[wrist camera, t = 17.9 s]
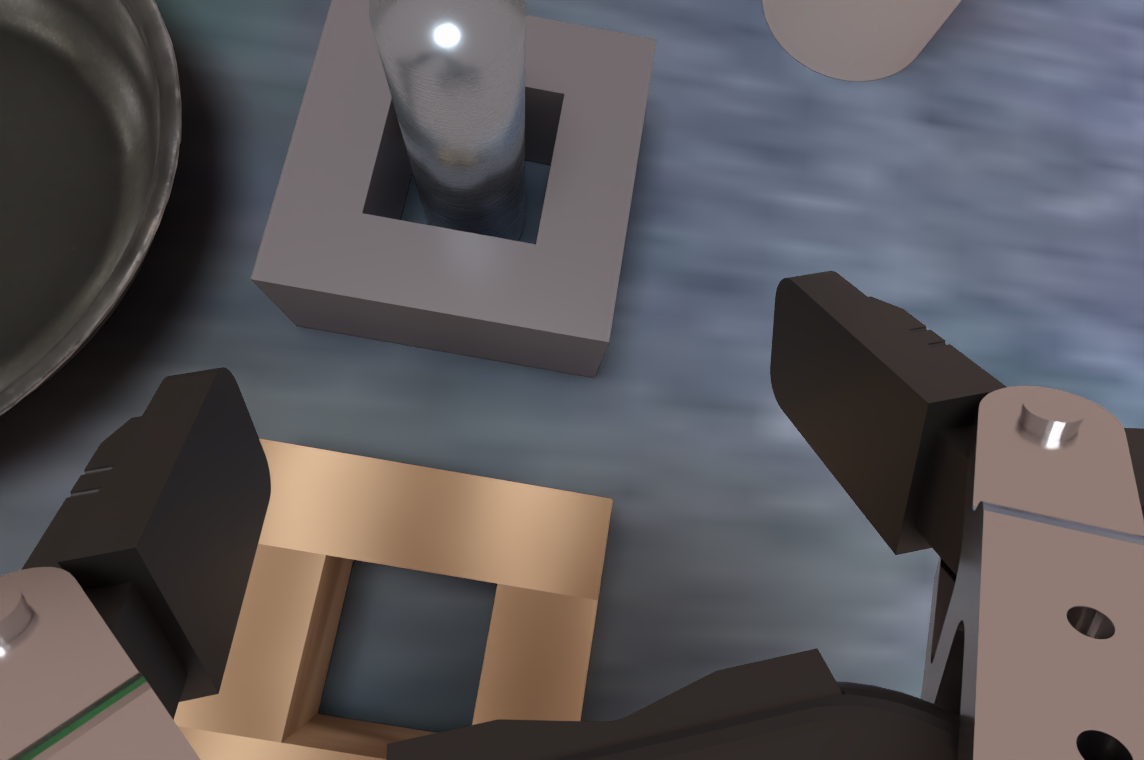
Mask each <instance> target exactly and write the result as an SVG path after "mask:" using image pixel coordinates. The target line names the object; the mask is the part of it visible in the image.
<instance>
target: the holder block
mask: <svg viewBox="0 0 1144 760" xmlns="http://www.w3.org/2000/svg"><path fill="white" fill-rule="evenodd" d="M656 40H657V39H651V38H646V37H641V36H636V35H630V34H625V33H620V32H614V31H609V30H604V29H598V28H593V27H588V26H582V25H577V24H572V23H566V22H561V21H556V20H550V19H545V18H540V17H534V16H529V15H526V47H525V160H528V161H534V162H539V163H545V164H550V165H551V168H550V173H549V178H548V183H547V189H546V194H545V199H544V205H543V210H542V215H541V220H540V226H539V231H538V236H537V242H536V244H531V243H525V242H520V241H514V240H508V239H503V238H497V237H492V236H486V235H481V234H475V233H469V232H464V231H458V230H453V229H447V228H442V227H436V226H430V225H425V224H419V223H414V222H408V221H403V220H401V216H402V212H403V208H404V204H405V200H406V195H407V191H408V187H409V183H410V179H411V175H412V167H411V164H410V160H409V157H408V153H407V150H406V146H405V143H404V139H403V136H402V132H401V129H400V125H399V122H398V118H397V114H396V111H395V107H394V104H393V100H392V97H391V93H390V90H389V86H388V83H387V79H386V76H385V72H384V69H383V65H382V62H381V58H380V55H379V51H378V48H377V44H376V40H375V37H374V33H373V30H372V26H371V23H370V18H369V0H332V1H331V5H330V8H329V12H328V15H327V19H326V22H325V25H324V29H323V32H322V36H321V39H320V43H319V46H318V49H317V53H316V56H315V60H314V63H313V67H312V70H311V73H310V77H309V80H308V84H307V87H306V91H305V94H304V97H303V101H302V104H301V108H300V111H299V115H298V118H297V121H296V125H295V128H294V132H293V135H292V139H291V142H290V146H289V149H288V152H287V156H286V159H285V163H284V166H283V170H282V173H281V176H280V180H279V183H278V187H277V190H276V194H275V197H274V200H273V204H272V207H271V211H270V214H269V218H268V221H267V224H266V228H265V231H264V235H263V238H262V242H261V245H260V248H259V252H258V255H257V259H256V262H255V266H254V269H253V272H252V276H251V280H252V281H253V282H254V283H255V284H256V285H257V286H258V287H259V288H260V289H261V290H262V291H263V292H264V293H265V294H266V295H267V296H268V297H269V298H270V299H271V300H272V301H273V302H274V303H275V304H276V305H277V306H278V307H279V308H280V309H281V310H282V311H283V312H284V313H285V314H286V315H287V316H288V318H289V319H290V320H291V321H292V322H293V323H294V324H295V325H296V326H301V327H306V328H312V329H318V330H323V331H329V332H335V333H341V334H346V335H352V336H358V337H363V338H369V339H375V340H381V341H386V342H392V343H398V344H403V345H409V346H415V347H421V348H426V349H432V350H438V351H444V352H449V353H455V354H461V355H466V356H472V357H478V358H484V359H489V360H495V361H501V362H506V363H512V364H518V365H524V366H529V367H535V368H541V369H546V370H552V371H558V372H564V373H569V374H575V375H581V376H586V377H592V378H595V375H596V373H597V371H598V368H599V366H600V363H601V361H602V358H603V356H604V353H605V351H606V349H607V346H608V344H609V340H610V333H611V327H612V321H613V314H614V308H615V301H616V295H617V289H618V282H619V276H620V270H621V263H622V257H623V250H624V244H625V238H626V231H627V225H628V218H629V212H630V206H631V199H632V193H633V187H634V180H635V174H636V167H637V161H638V155H639V148H640V142H641V136H642V129H643V123H644V116H645V110H646V104H647V97H648V91H649V85H650V78H651V72H652V65H653V59H654V53H655V46H656Z"/></svg>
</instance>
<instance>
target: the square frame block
mask: <svg viewBox="0 0 1144 760" xmlns="http://www.w3.org/2000/svg"><path fill="white" fill-rule="evenodd" d="M259 440H260V442H261V445H262V447H263V450H264V453H265V455H266V458H267V462H268V466H269V471H270V478H271V495H270V501H269V505H268V508H267V512H266V516H265V520H264V524H263V527H262V531H261V535H260V539H259V542H258V546H257V550H256V554H255V558H254V561H253V565H252V569H251V573H250V577H249V580H248V584H247V588H246V592H245V596H244V599H243V603H242V607H241V611H240V615H239V618H238V622H237V626H236V630H235V634H234V637H233V641H232V645H231V649H230V653H229V656H228V660H227V664H226V668H225V672H224V675H223V679H222V683H221V687H220V691H219V694H216V695H211V696H206V697H201V698H197V699H192V700H187V701H182V702H179V704H178V707H177V710H176V713H175V717H174V722H175V723H176V725H177V726H178V727H179V729H180V730H181V732H182V733H183V735H184V736H185V738H186V739H187V741H188V742H189V744H190V745H191V746H192V748H193V749H194V751H195V752H196V754H197V755H198V757H199V758H200V760H386V756H387V744H389V743H394V742H398V741H403V740H407V739H412V738H416V737H421V736H425V735H430V734H434V733H435V732H429V731H422V730H416V729H410V728H404V727H397V726H391V725H385V724H379V723H372V722H366V721H360V720H354V719H348V718H341V717H335V716H329V715H323V714H318V711H319V707H320V702H321V698H322V694H323V689H324V685H325V681H326V676H327V672H328V668H329V663H330V659H331V655H332V650H333V646H334V642H335V637H336V633H337V629H338V624H339V620H340V616H341V611H342V607H343V603H344V598H345V594H346V589H347V585H348V581H349V576H350V572H351V568H352V563H353V560H359V561H365V562H371V563H377V564H383V565H389V566H395V567H401V568H407V569H413V570H419V571H425V572H431V573H437V574H443V575H449V576H455V577H461V578H467V579H473V580H479V581H485V582H491V583H497V590H496V595H495V601H494V606H493V612H492V617H491V623H490V628H489V634H488V639H487V645H486V650H485V656H484V661H483V667H482V672H481V678H480V684H479V689H478V695H477V700H476V706H475V711H474V717H473V722H472V725H475V724H479V723H484V722H488V721H493V720H497V719H506V720H549V721H580V719H581V712H582V706H583V699H584V692H585V685H586V678H587V672H588V665H589V658H590V651H591V645H592V638H593V631H594V624H595V617H596V611H597V604H598V597H599V590H600V583H601V577H602V570H603V563H604V556H605V549H606V543H607V536H608V529H609V522H610V515H611V509H612V502H613V499H610V498H604V497H599V496H593V495H587V494H581V493H575V492H569V491H563V490H557V489H552V488H546V487H540V486H534V485H528V484H522V483H516V482H511V481H505V480H499V479H493V478H487V477H481V476H475V475H469V474H464V473H458V472H452V471H446V470H440V469H434V468H428V467H422V466H417V465H411V464H405V463H399V462H393V461H387V460H381V459H376V458H370V457H364V456H358V455H352V454H346V453H340V452H334V451H329V450H323V449H317V448H311V447H305V446H299V445H293V444H288V443H282V442H276V441H270V440H264V439H259Z"/></svg>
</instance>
